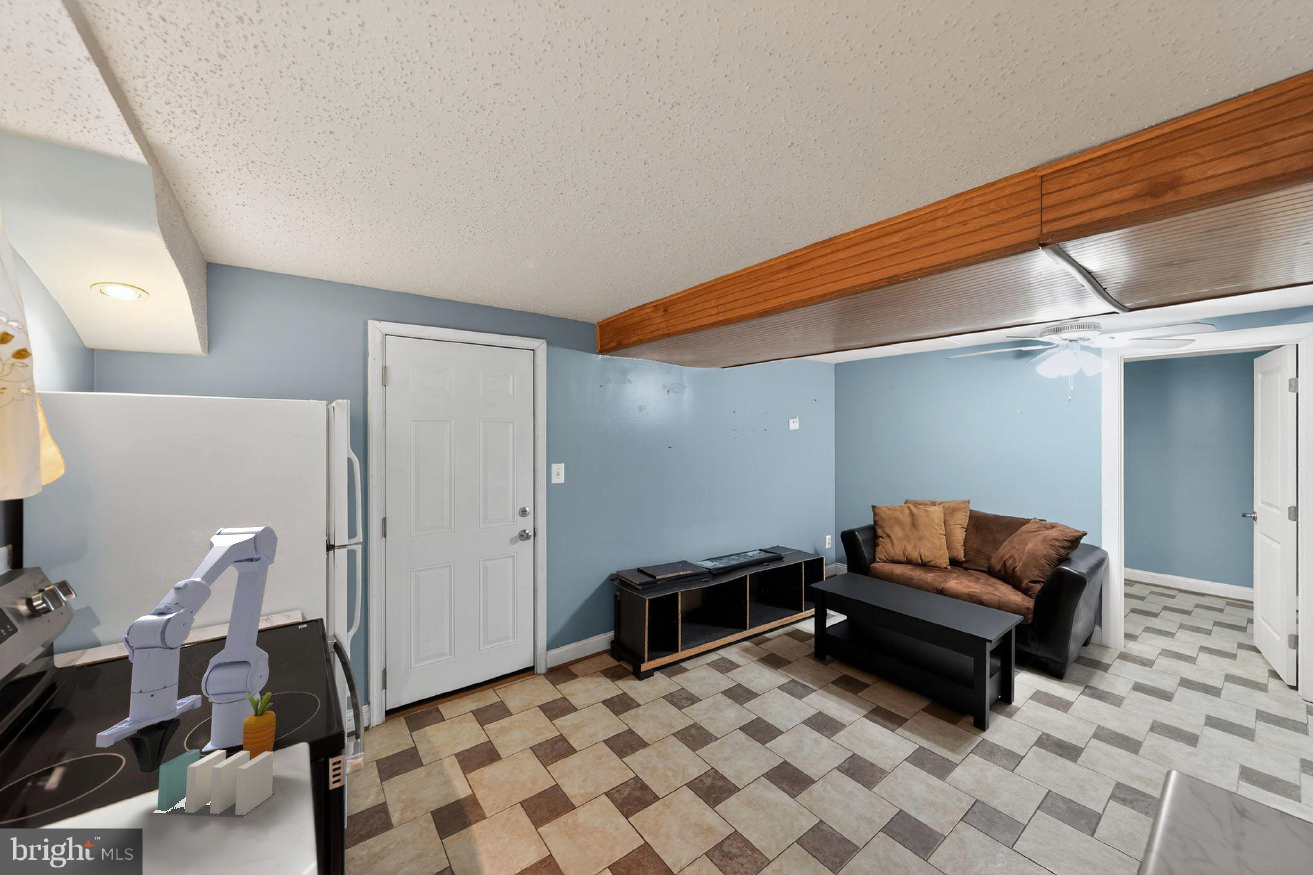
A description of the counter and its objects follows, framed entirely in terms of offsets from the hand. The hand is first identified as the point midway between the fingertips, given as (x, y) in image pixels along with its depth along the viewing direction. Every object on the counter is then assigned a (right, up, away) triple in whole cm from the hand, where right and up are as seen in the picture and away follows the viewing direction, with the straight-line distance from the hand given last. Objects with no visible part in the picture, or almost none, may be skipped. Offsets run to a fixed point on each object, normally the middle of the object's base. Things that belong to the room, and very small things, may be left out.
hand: (150, 769), depth 84 cm
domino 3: (+20, -4, -3) cm, 20 cm away
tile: (+6, -5, -1) cm, 7 cm away
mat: (+13, -5, -2) cm, 13 cm away
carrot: (+14, -6, +5) cm, 16 cm away
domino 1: (+11, -4, -2) cm, 12 cm away
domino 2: (+15, -4, -2) cm, 16 cm away
